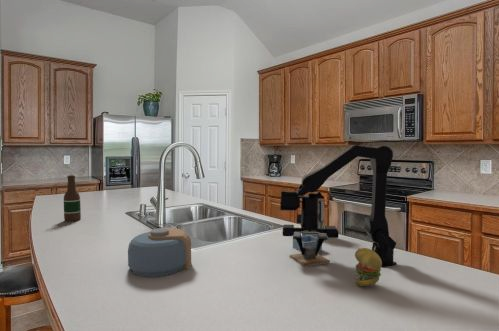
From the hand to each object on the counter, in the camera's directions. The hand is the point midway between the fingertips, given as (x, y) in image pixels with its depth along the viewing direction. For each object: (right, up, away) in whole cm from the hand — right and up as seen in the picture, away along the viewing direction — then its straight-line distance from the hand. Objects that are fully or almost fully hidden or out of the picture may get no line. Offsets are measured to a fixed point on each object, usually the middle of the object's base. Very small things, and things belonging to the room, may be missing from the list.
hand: (309, 255), depth 111 cm
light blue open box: (+1, -1, +12) cm, 12 cm away
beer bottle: (-115, +2, +59) cm, 130 cm away
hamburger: (+13, -3, -21) cm, 24 cm away
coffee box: (+8, 0, +32) cm, 33 cm away
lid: (0, -2, 0) cm, 2 cm away
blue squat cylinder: (-50, -2, -5) cm, 51 cm away
